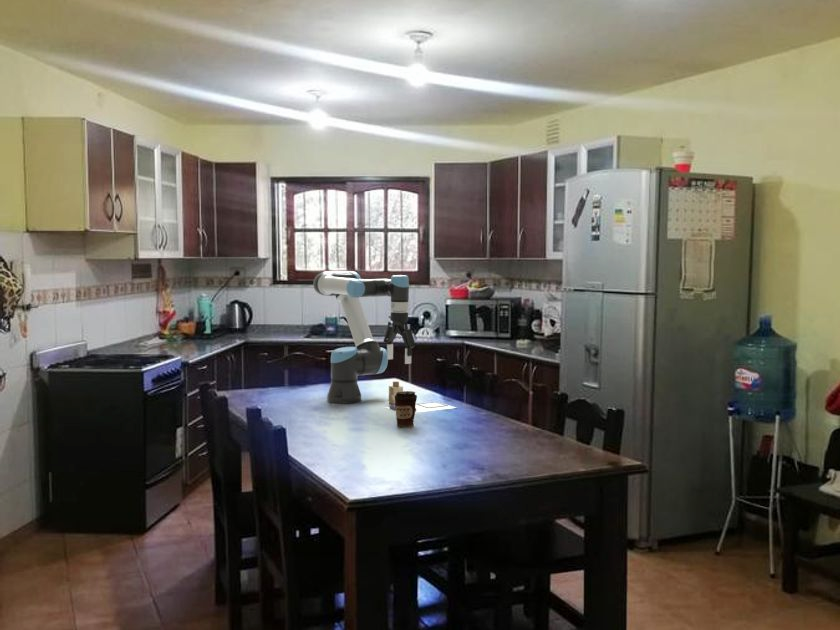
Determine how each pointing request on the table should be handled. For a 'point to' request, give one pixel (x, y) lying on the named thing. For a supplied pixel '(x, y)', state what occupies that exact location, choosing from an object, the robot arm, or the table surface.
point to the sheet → (429, 406)
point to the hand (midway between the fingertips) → (398, 361)
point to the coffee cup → (405, 408)
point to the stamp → (394, 392)
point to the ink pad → (394, 408)
